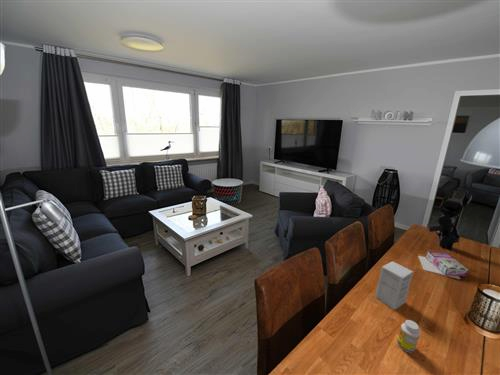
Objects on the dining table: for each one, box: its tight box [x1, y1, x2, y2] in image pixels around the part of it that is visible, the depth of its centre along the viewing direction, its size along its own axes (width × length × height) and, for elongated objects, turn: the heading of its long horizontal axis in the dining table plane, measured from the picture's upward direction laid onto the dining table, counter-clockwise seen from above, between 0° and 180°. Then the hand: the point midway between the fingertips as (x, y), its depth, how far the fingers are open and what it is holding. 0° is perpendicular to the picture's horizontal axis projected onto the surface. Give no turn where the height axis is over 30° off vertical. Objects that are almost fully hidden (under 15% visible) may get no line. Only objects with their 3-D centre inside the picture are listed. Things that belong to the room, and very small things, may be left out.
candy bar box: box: [425, 250, 469, 277], centre depth 131 cm, size 11×5×16 cm
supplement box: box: [374, 261, 414, 311], centre depth 103 cm, size 10×9×17 cm
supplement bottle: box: [396, 319, 421, 354], centre depth 82 cm, size 6×6×10 cm
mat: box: [417, 255, 461, 280], centre depth 132 cm, size 16×16×1 cm
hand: (440, 246), depth 134 cm, fingers closed
